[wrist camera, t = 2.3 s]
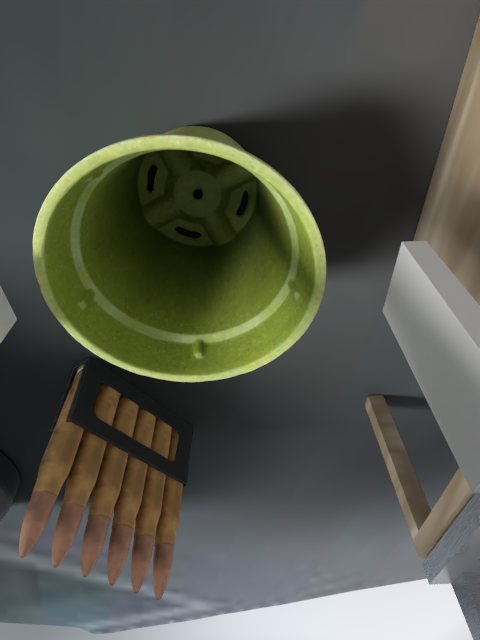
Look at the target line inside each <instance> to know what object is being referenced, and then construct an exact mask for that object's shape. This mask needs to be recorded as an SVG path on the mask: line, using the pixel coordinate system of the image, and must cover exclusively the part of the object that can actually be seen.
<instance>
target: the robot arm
mask: <svg viewBox="0 0 480 640" xmlns="http://www.w3.org/2000/svg"><path fill="white" fill-rule="evenodd" d="M383 313H384V315H385V317H386V319H387V321H388V323H389V325H390V327H391V329H392V331H393V333H394V335H395V337H396V339H397V341H398V343H399V345H400V347H401V349H402V351H403V353H404V355H405V358H406V360H407V362H408V364H409V366H410V368H411V370H412V372H413V374H414V376H415V378H416V380H417V382H418V384H419V386H420V388H421V390H422V392H423V394H424V396H425V398H426V400H427V402H428V404H429V406H430V408H431V410H432V412H433V414H434V416H435V418H436V421H437V423H438V425H439V427H440V429H441V431H442V433H443V435H444V437H445V439H446V441H447V443H448V445H449V447H450V449H451V451H452V453H453V455H454V457H455V459H456V461H457V463H458V465H459V467H460V469H461V471H462V473H463V475H464V477H465V479H466V482H467V484H468V486H469V488H470V490H471V492H472V493H480V305H479V304H478V303H477V302H476V301H475V299H474V298H473V297H472V296H471V294H470V293H469V292H468V291H467V290H466V288H465V287H464V286H463V285H462V284H461V282H460V281H459V280H458V279H457V278H456V276H455V275H454V274H453V273H452V271H451V270H450V269H449V268H448V267H447V265H446V264H445V263H444V262H443V261H442V259H441V258H440V257H439V256H438V255H437V253H436V252H435V251H434V250H433V248H432V247H431V246H430V245H429V244H428V242H427V241H406V242H402V243H401V247H400V250H399V254H398V257H397V261H396V265H395V268H394V272H393V275H392V279H391V283H390V286H389V290H388V293H387V297H386V301H385V304H384V308H383ZM16 320H17V318H16V316H15V314H14V312H13V310H12V308H11V306H10V304H9V302H8V300H7V298H6V296H5V294H4V292H3V290H2V288H1V286H0V344H1V342H2V341H3V339H4V338H5V336H6V335H7V333H8V332H9V330H10V329H11V328H12V326H13V325H14V323H15V322H16ZM19 485H20V477H19V474H18V471H17V469H16V468H15V466H14V465H13V464H12V462H11V461H10V460H9V459H8V458H7V457H6V456H5V455H3V454H2V453H1V452H0V520H2V519H3V518H4V516H5V515H6V514H7V512H8V510H9V509H10V507H11V504H12V502H13V500H14V498H15V495H16V493H17V491H18V488H19Z"/></svg>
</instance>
